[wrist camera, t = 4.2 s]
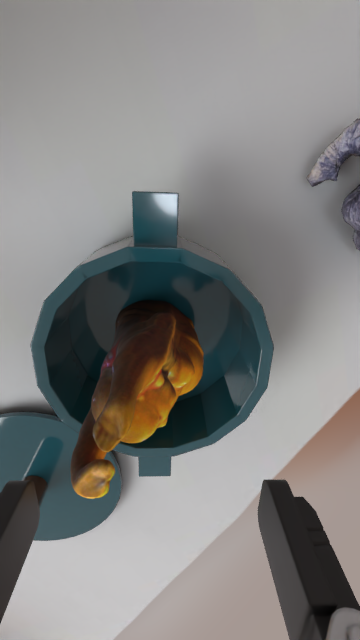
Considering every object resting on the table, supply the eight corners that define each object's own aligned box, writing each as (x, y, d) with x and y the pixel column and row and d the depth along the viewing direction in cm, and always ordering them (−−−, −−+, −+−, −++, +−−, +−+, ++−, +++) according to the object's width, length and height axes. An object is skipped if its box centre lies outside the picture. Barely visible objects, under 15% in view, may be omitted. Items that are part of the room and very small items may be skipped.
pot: (74, 432, 28) (53, 485, 23) (44, 188, 20) (3, 186, 15) (236, 432, 28) (251, 483, 23) (267, 196, 21) (299, 197, 16)
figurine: (191, 368, 25) (216, 525, 13) (109, 358, 24) (55, 512, 12) (207, 295, 23) (253, 403, 11) (116, 281, 22) (60, 379, 10)
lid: (-28, 531, 32) (-68, 601, 26) (-70, 406, 26) (-132, 463, 20) (125, 528, 33) (117, 595, 27) (119, 406, 27) (107, 461, 21)
